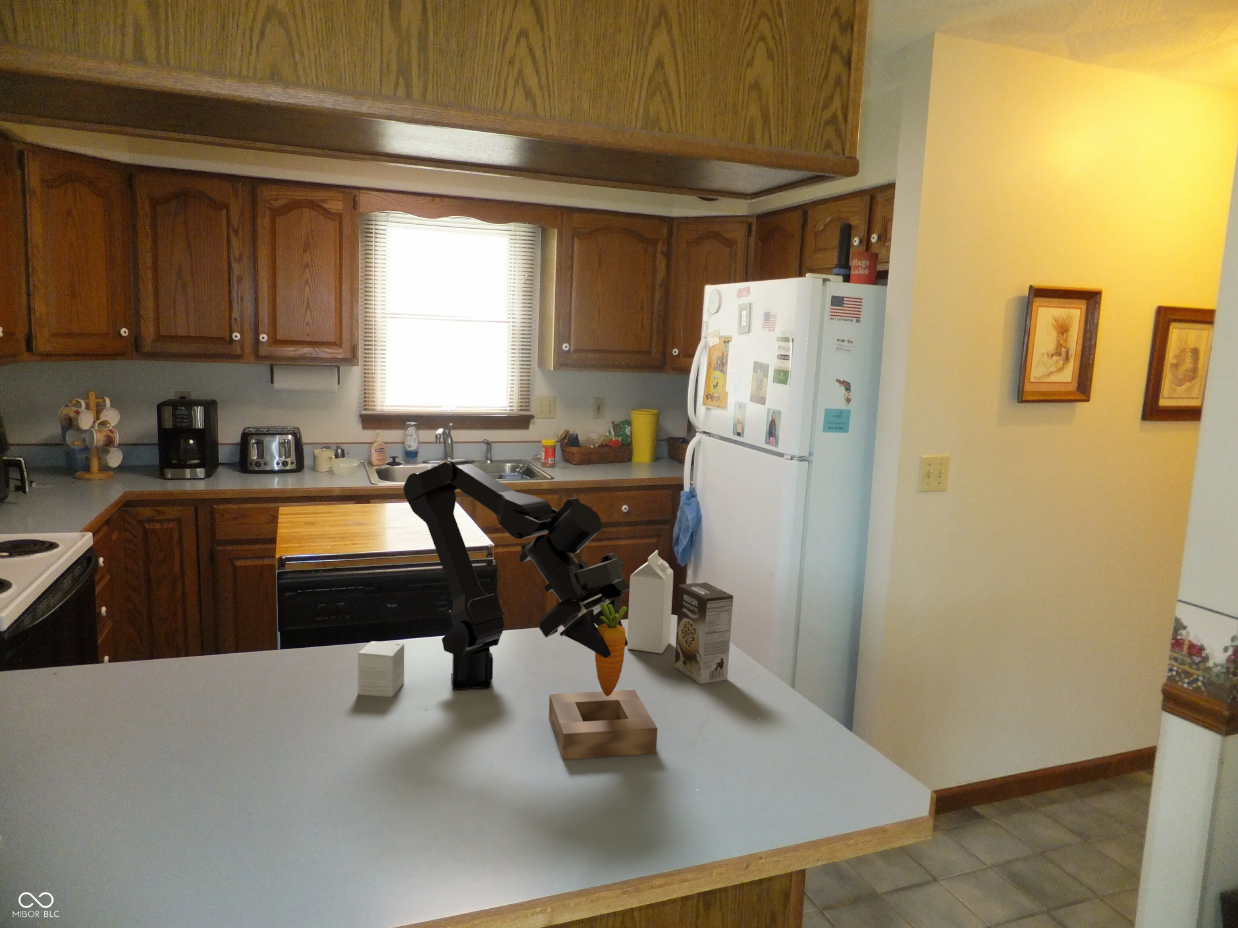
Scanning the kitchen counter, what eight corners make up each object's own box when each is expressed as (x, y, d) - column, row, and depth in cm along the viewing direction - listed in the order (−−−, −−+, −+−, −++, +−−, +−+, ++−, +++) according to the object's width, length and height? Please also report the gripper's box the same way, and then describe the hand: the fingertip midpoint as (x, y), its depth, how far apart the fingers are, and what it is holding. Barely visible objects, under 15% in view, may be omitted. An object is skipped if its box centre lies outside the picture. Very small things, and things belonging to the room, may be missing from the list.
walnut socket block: (562, 759, 124) (563, 733, 123) (548, 717, 137) (549, 693, 137) (656, 753, 127) (657, 727, 126) (633, 712, 140) (634, 689, 140)
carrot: (628, 693, 134) (633, 601, 132) (616, 705, 130) (621, 610, 127) (599, 686, 136) (603, 595, 134) (586, 698, 131) (590, 604, 129)
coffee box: (672, 667, 161) (677, 584, 159) (701, 662, 164) (706, 580, 162) (699, 685, 153) (704, 597, 151) (729, 679, 156) (734, 594, 154)
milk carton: (626, 649, 169) (630, 555, 167) (636, 637, 176) (640, 548, 173) (661, 654, 167) (666, 560, 165) (669, 642, 174) (674, 551, 171)
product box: (371, 680, 149) (371, 640, 148) (405, 683, 148) (405, 642, 147) (357, 694, 143) (357, 652, 142) (392, 697, 142) (392, 655, 141)
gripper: (559, 550, 123) (622, 641, 119) (622, 528, 139) (679, 607, 135) (512, 593, 128) (571, 681, 124) (579, 567, 144) (633, 644, 140)
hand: (617, 651), depth 131 cm, fingers closed on carrot, 5 cm apart
